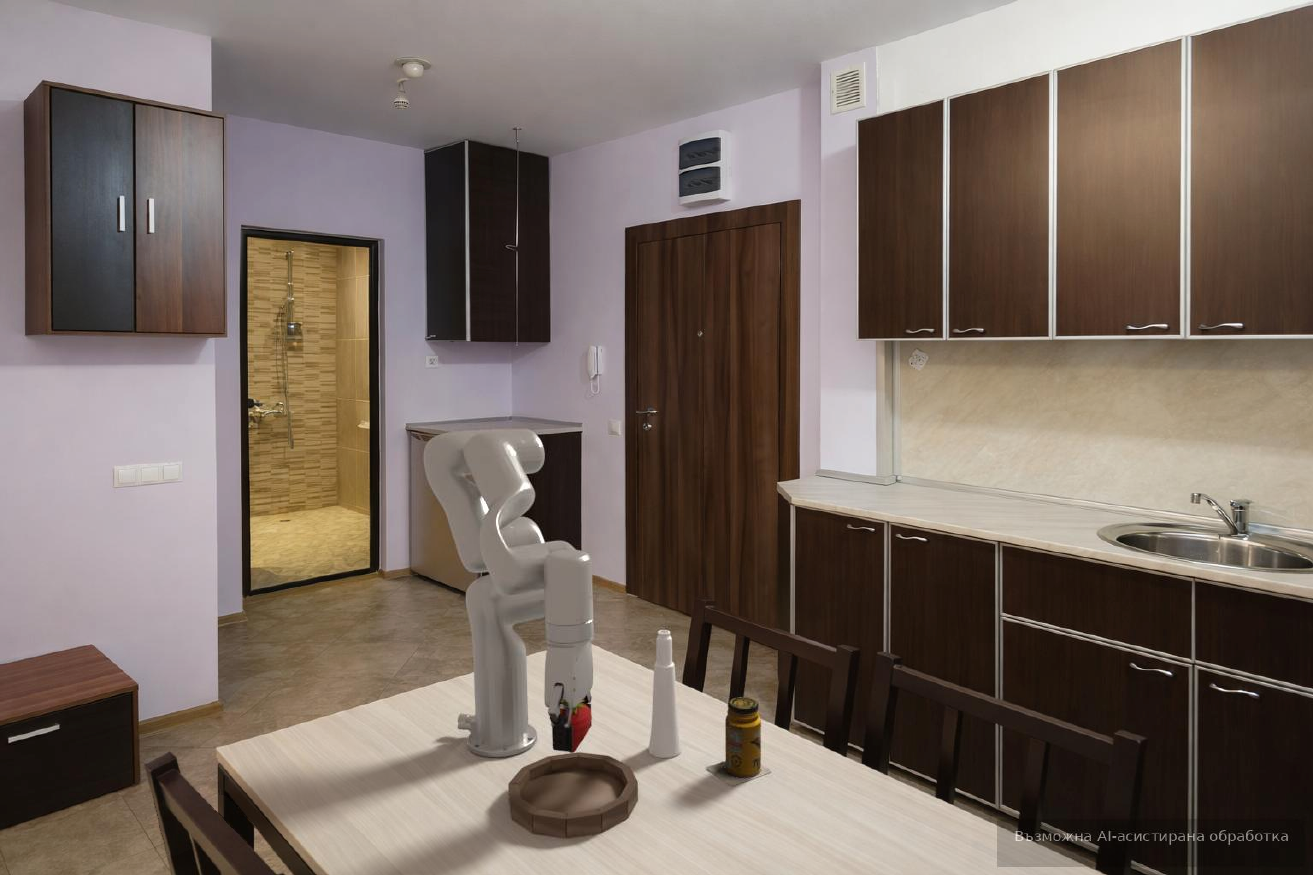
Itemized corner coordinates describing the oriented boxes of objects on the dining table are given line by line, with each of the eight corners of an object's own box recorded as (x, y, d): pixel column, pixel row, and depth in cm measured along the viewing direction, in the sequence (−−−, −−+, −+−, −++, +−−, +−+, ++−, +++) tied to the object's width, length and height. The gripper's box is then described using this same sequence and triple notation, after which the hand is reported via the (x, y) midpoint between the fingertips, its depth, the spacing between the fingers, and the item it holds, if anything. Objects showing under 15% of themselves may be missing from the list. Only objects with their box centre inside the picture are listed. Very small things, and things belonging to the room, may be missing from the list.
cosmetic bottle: (655, 740, 154) (653, 624, 151) (686, 745, 152) (685, 627, 149) (643, 755, 148) (642, 635, 146) (675, 760, 146) (674, 638, 144)
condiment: (771, 772, 142) (771, 704, 140) (732, 787, 137) (732, 717, 136) (744, 755, 148) (744, 690, 146) (705, 769, 143) (705, 701, 142)
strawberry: (599, 744, 135) (598, 684, 134) (579, 765, 128) (578, 702, 127) (566, 739, 137) (565, 680, 136) (545, 760, 130) (543, 698, 129)
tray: (488, 826, 126) (487, 807, 126) (540, 763, 145) (539, 747, 145) (613, 845, 121) (613, 825, 121) (650, 777, 140) (650, 760, 140)
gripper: (567, 612, 140) (570, 713, 141) (524, 646, 123) (528, 761, 125) (609, 614, 138) (612, 717, 139) (572, 650, 121) (575, 766, 123)
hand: (572, 737), depth 132 cm, fingers closed on strawberry, 7 cm apart
